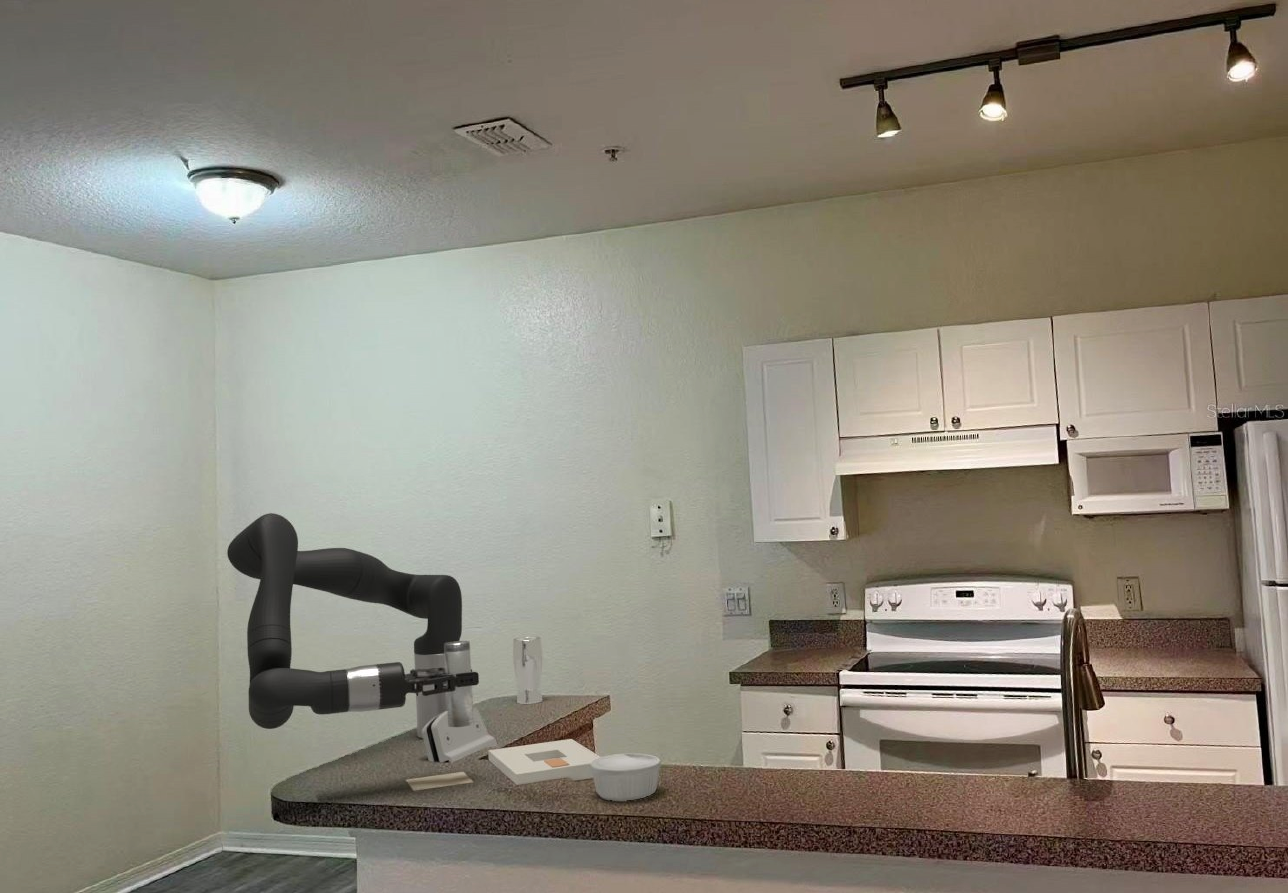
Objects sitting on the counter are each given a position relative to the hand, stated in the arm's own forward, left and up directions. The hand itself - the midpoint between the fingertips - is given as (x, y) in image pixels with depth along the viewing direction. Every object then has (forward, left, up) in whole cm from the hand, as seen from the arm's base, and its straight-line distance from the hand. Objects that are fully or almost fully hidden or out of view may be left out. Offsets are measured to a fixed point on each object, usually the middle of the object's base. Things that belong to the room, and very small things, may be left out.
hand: (474, 676), depth 188 cm
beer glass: (-65, +27, -18) cm, 73 cm away
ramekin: (+22, +19, -18) cm, 34 cm away
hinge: (-20, +1, -18) cm, 27 cm away
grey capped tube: (0, -3, -8) cm, 8 cm away
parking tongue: (0, -7, -18) cm, 19 cm away
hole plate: (0, +12, -18) cm, 22 cm away
